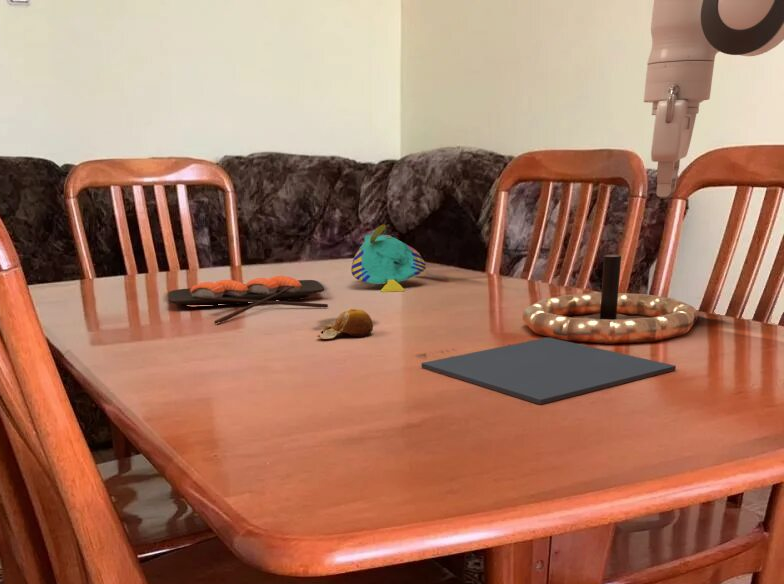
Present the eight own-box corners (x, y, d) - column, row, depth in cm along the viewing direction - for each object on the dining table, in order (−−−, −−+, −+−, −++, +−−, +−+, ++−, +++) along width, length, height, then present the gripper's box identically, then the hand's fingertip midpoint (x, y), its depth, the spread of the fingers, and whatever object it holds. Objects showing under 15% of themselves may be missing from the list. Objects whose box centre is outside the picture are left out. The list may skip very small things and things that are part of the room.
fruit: (322, 329, 130) (320, 305, 128) (375, 328, 129) (374, 304, 128) (316, 341, 122) (314, 316, 121) (371, 339, 122) (370, 314, 120)
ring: (603, 306, 139) (604, 286, 137) (729, 327, 120) (732, 304, 119) (491, 326, 127) (491, 305, 126) (612, 354, 108) (614, 329, 107)
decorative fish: (346, 209, 167) (419, 204, 168) (349, 262, 177) (419, 258, 178) (352, 266, 156) (431, 261, 156) (355, 320, 165) (429, 315, 166)
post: (605, 319, 128) (611, 250, 124) (646, 327, 122) (653, 255, 118) (568, 327, 125) (572, 256, 120) (608, 335, 119) (614, 261, 114)
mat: (547, 341, 116) (548, 337, 116) (675, 370, 100) (676, 365, 99) (421, 367, 106) (421, 362, 106) (540, 405, 89) (540, 399, 89)
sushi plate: (316, 288, 168) (315, 269, 166) (342, 314, 141) (340, 291, 139) (170, 299, 162) (167, 279, 161) (168, 328, 136) (164, 305, 134)
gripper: (697, 82, 105) (683, 199, 111) (704, 89, 122) (692, 189, 128) (646, 85, 108) (635, 199, 114) (660, 91, 125) (650, 190, 131)
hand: (665, 194), depth 121 cm, fingers open, 8 cm apart
